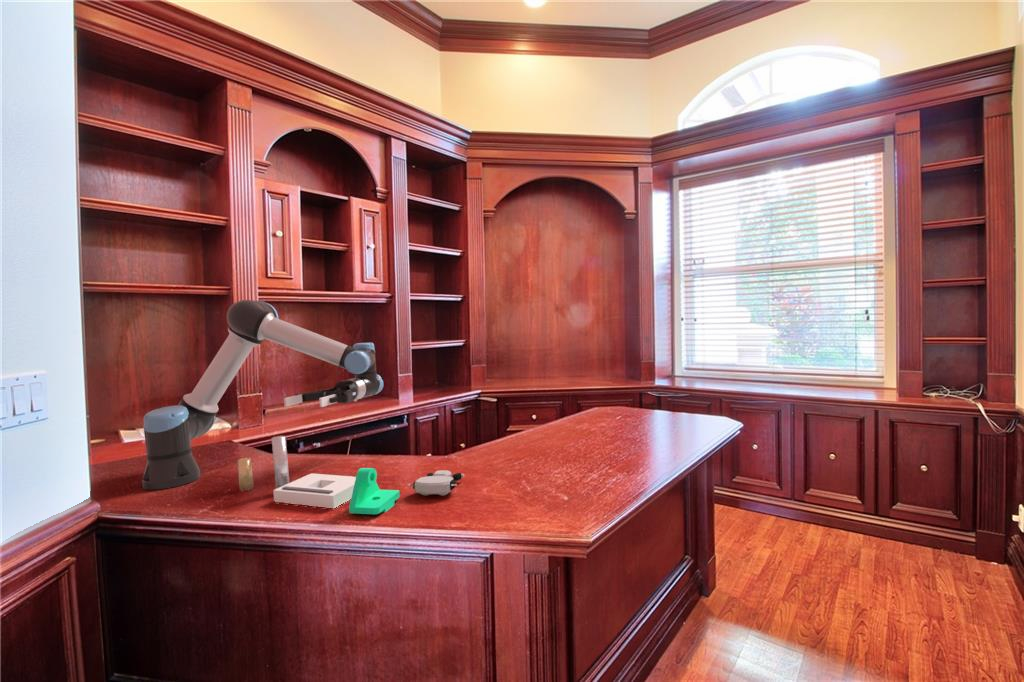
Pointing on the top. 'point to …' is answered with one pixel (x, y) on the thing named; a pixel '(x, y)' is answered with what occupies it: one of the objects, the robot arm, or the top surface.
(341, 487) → the hole plate
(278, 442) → the long pin
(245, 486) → the short pin
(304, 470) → the top surface
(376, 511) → the camera mount
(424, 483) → the robot toy
